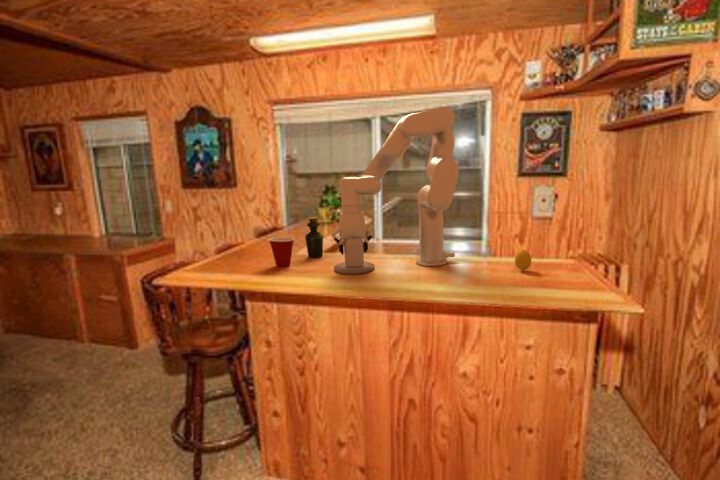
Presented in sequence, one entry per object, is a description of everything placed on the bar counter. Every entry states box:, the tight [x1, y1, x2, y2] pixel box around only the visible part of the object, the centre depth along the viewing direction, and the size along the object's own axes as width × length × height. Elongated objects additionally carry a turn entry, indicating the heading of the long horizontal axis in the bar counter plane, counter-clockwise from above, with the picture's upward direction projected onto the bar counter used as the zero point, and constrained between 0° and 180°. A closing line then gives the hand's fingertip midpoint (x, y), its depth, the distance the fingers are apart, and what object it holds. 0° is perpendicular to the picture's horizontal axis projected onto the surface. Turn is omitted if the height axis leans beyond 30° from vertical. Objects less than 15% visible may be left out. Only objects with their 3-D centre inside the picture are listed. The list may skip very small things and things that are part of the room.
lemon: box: [514, 249, 532, 272], centre depth 142 cm, size 6×6×8 cm
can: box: [343, 237, 365, 268], centre depth 154 cm, size 8×8×12 cm
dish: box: [333, 261, 375, 276], centre depth 155 cm, size 16×16×1 cm
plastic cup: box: [268, 236, 295, 268], centre depth 164 cm, size 11×11×12 cm
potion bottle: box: [304, 216, 324, 259], centre depth 177 cm, size 8×8×18 cm
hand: (353, 253), depth 154 cm, fingers open, 8 cm apart
